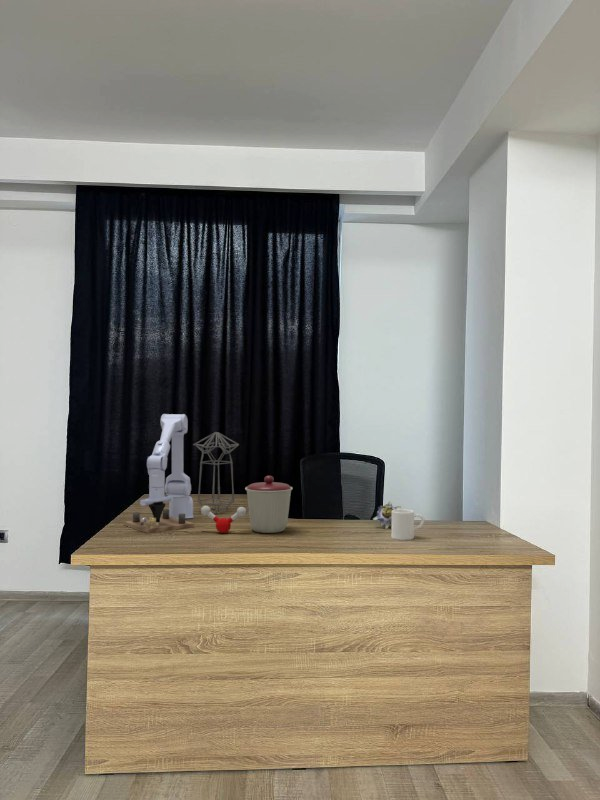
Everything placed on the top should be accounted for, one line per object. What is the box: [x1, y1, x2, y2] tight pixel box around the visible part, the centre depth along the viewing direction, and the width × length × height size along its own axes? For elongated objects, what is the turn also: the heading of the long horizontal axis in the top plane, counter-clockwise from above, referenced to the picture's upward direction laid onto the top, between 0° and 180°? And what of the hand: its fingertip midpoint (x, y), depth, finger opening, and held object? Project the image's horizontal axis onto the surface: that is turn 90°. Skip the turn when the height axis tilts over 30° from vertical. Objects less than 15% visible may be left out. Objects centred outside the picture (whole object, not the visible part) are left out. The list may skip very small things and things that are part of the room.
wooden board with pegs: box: [123, 508, 195, 534], centre depth 287 cm, size 20×20×5 cm
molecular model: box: [200, 505, 248, 534], centre depth 275 cm, size 18×6×10 cm, turn 79°
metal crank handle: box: [140, 516, 156, 525], centre depth 280 cm, size 9×3×3 cm, turn 43°
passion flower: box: [372, 501, 402, 530], centre depth 288 cm, size 11×11×12 cm
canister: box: [244, 475, 293, 534], centre depth 279 cm, size 18×18×21 cm
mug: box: [390, 508, 426, 541], centre depth 267 cm, size 8×12×10 cm, turn 82°
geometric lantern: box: [192, 431, 240, 514], centre depth 322 cm, size 16×16×35 cm
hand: (156, 522), depth 280 cm, fingers closed
